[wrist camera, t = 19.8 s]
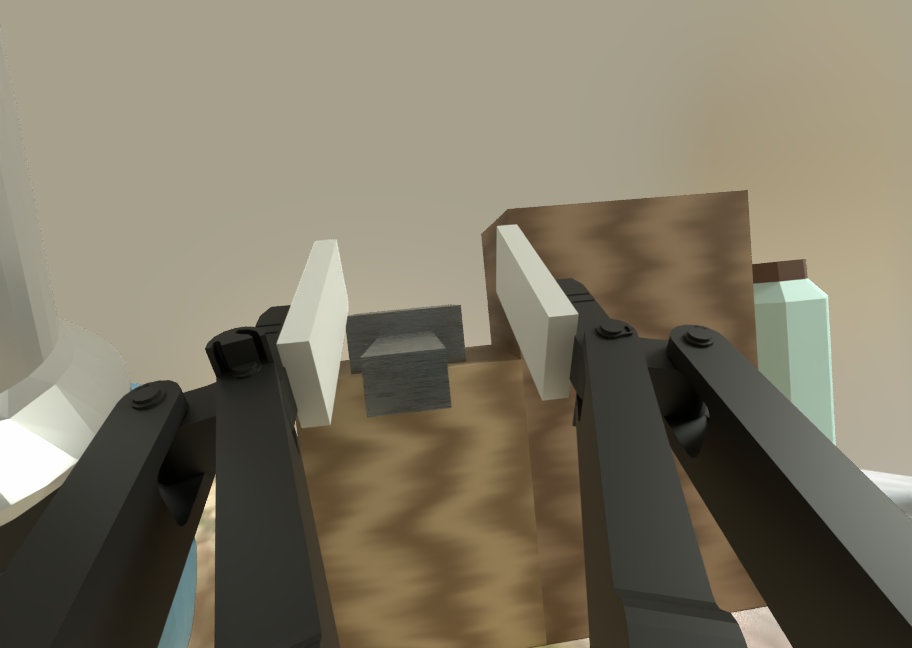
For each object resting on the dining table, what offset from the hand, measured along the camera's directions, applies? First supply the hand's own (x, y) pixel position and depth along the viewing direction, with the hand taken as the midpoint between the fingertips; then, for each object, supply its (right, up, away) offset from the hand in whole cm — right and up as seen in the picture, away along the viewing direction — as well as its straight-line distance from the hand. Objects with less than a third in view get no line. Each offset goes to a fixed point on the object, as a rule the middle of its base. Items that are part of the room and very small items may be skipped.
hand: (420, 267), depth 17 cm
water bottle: (+35, -21, +30) cm, 51 cm away
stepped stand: (+8, -24, +20) cm, 32 cm away
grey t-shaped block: (-2, -5, +12) cm, 13 cm away
